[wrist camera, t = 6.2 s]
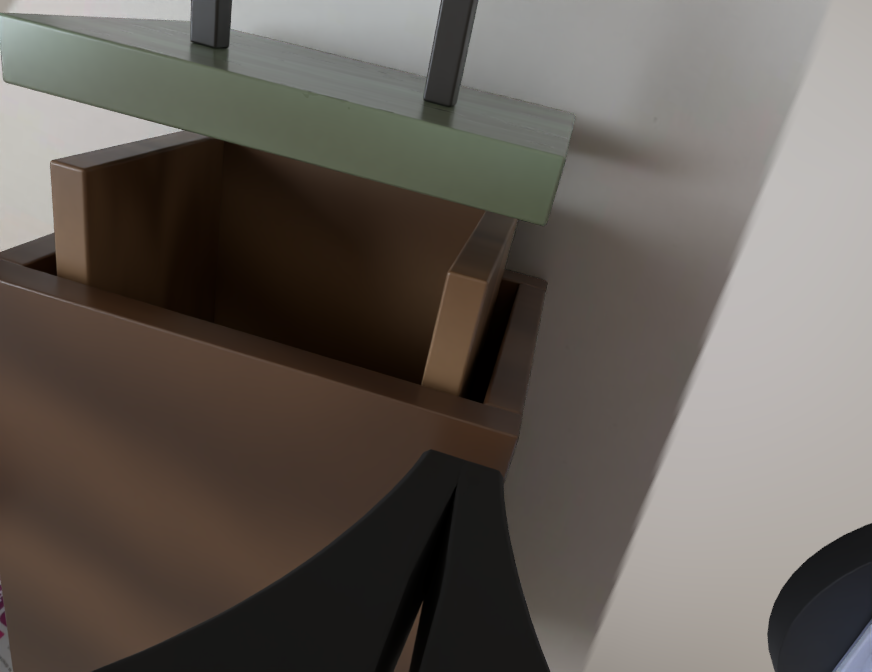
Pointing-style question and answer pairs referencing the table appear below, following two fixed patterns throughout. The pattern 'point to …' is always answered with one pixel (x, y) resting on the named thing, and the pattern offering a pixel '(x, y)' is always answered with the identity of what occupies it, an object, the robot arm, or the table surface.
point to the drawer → (295, 184)
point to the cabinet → (199, 457)
